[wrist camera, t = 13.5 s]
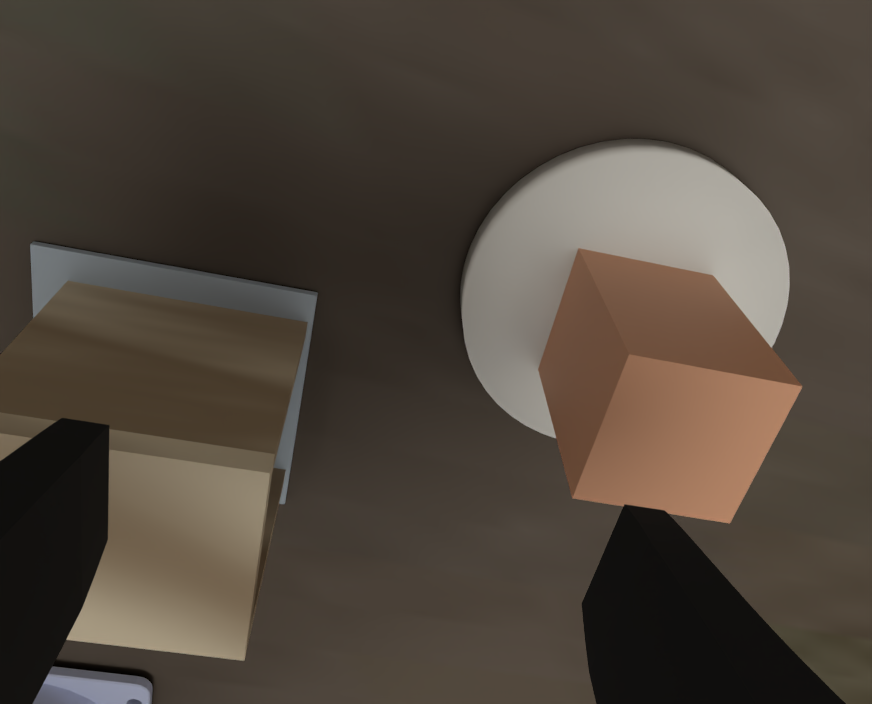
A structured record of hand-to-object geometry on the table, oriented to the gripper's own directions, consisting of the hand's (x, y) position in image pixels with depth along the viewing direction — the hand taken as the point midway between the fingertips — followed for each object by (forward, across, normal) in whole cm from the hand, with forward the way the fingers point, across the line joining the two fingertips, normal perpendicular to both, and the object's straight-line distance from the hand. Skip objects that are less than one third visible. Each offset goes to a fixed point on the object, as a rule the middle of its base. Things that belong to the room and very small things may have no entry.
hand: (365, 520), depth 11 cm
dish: (+10, -6, 0) cm, 12 cm away
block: (+9, -6, 0) cm, 11 cm away
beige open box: (+10, +5, +5) cm, 12 cm away
